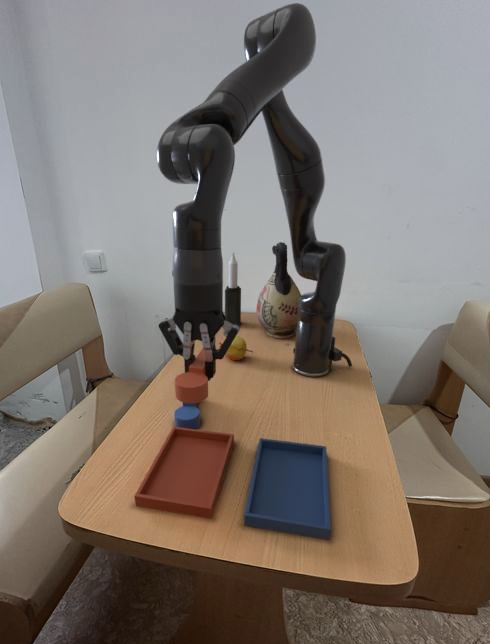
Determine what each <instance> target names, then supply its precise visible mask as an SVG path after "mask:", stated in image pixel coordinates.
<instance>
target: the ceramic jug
mask: <svg viewBox="0 0 490 644" xmlns="http://www.w3.org/2000/svg"><path fill="white" fill-rule="evenodd" d="M271 251H272V254H273V255H274V256H275V266H274V271H273V272H272V274H271V276H270V277H269V279H268V280H267V281H266V283H265V284H264V286H263V288H262V290H261V291H260V294H259V295H258V296H259V297H258V299H257V302H256V309H255V310H256V311H255V312H256V313H255V314H256V318H257V322H258V323H259V324H260V325H261V326H262V328H263V330H265V333H266V334H267V335H268V336H269V337H271V338H276V339H280V340H282V339H286V338H290V337H293V336H294V335H295V334H296V329H297V316H298V303H299V298H300V296H301V295H302V293H301V291H300V290H299V287H298V286H297V284H296V282H295V281H294V280H293V277H292V276H291V275H290V274H289V272H288V260H289V259H288V245H287V244H286V242H282V241H279V242H278V243H276V245H273V246H272V247H271Z"/></svg>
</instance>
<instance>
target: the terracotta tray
mask: <svg viewBox="0 0 490 644" xmlns="http://www.w3.org/2000/svg"><path fill="white" fill-rule="evenodd" d="M234 436H235V435H234V433H227V432H221V431H219V432H218V431H211V430H204V429H203V430H202V429H197V428H196V429H188V428H180V427H176V426H172V428H171V430H170V432H169V433H168V435H167V437H166V438H165V441H164V442H163V444H162V446H161V448H160V449H159V452H158V453H157V455H156V457H155V458H154V460H153V462H152V464H151V466H150V467H149V469H148V470H147V473H146V474H145V477H144V479H143V480H142V481H141V483H140V485H139V487H138V489H137V490H136V492H135V494H134V495H133V496H134V503H135V506H136V507H139V508H146V509H151V510H158V511H163V512H168V513H169V512H170V513H174V514H181V515H187V516H192V517H198V518H204V519H211V520H212V518H213V515H214V511H215V508H216V505H217V501H218V497H219V495H220V491H221V487H222V484H223V481H224V477H225V474H226V471H227V467H228V464H229V460H230V457H231V454H232V450H233V447H234V443H235V437H234Z"/></svg>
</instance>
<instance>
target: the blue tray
mask: <svg viewBox="0 0 490 644" xmlns="http://www.w3.org/2000/svg"><path fill="white" fill-rule="evenodd" d="M327 453H328V452H327V446H325V445H317V444H309V443H301V442H294V441H293V442H292V441H287V440H279V439H270V438H261V437H259V440H258V445H257V451H256V455H255V460H254V465H253V470H252V474H251V480H250V485H249V491H248V496H247V500H246V504H245V510H244V515H243V516H244V517H243V520H244V522H243V525H244V526H246V527H251V528H252V527H253V528H257V529H263V530H268V531H269V530H270V531H274V532H279V533H287V534H293V535H299V536H303V537H309V538H314V539H315V538H316V539H320V540H321V539H322V540H326V541H330V539H331V531H332V522H331V506H330V489H329V472H328V455H327Z"/></svg>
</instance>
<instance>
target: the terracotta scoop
mask: <svg viewBox="0 0 490 644" xmlns="http://www.w3.org/2000/svg"><path fill="white" fill-rule="evenodd" d="M205 361H206V357H205V350H204V349H203V347H202V348H201V350H200V351H199V352H198V354H197V355H196V356H195V360H194V361H193V362H192V364H191V365H190V366H189V372H186V373H185V372H182V373H180V374H178V375H176V377H175V378H174V392H175V393H174V396H175V399H176V400H178V401H179V402H181V403H183V402H184V403H197V404H198V403H201V402H203V401H205V400H207V398H208V396H209V381H208V378H207V376H206V375H205Z"/></svg>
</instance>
